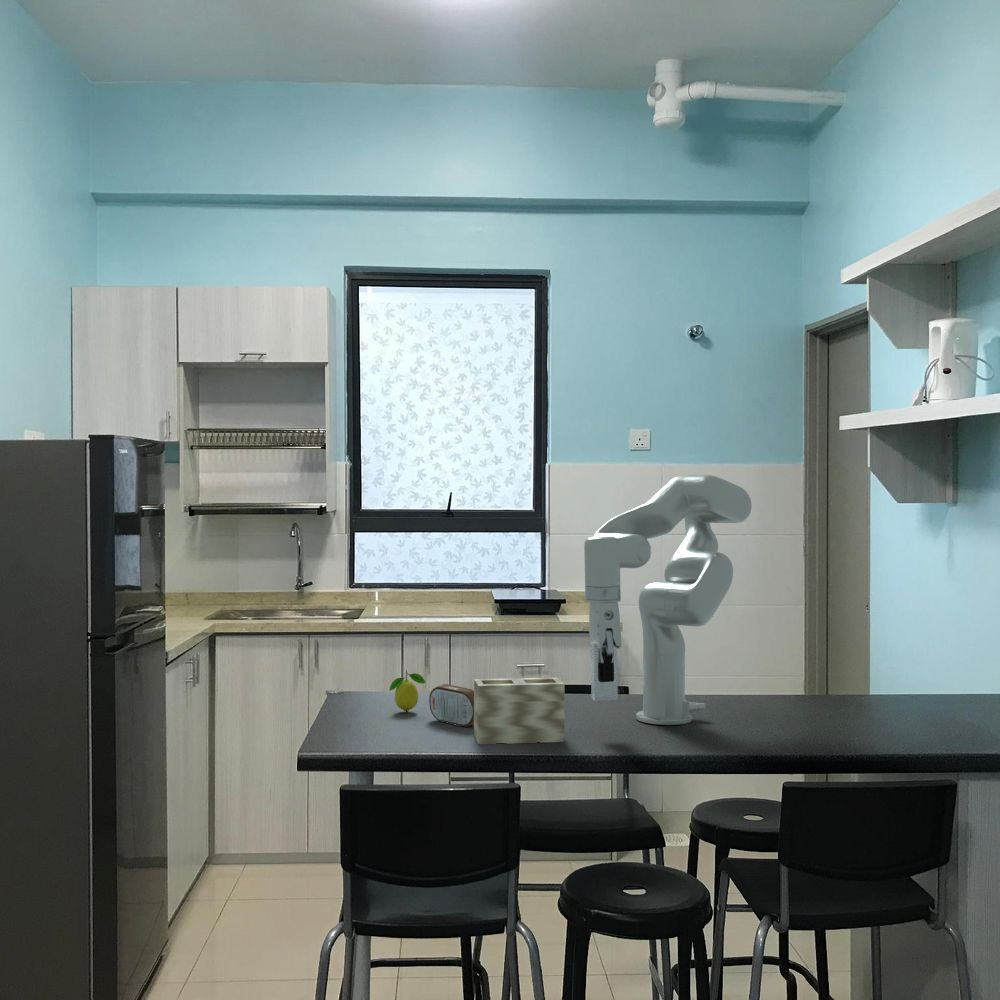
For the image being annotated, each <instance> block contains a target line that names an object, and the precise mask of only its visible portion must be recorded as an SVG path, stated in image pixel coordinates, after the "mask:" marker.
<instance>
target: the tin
mask: <svg viewBox="0 0 1000 1000" xmlns="http://www.w3.org/2000/svg"><path fill="white" fill-rule="evenodd" d="M428 697H429V699H428V702H429V710H430V712H431V714H432V715H433V716H432V717H433V718H434V719H435V720H437V721H438V720H439V721H438V722H440V721H443V722H442V723H444V722H448V723H451V724H450V725H453V724H456V725H455V726H457V725H460V726H459V727H461V726H464V727H463V728H469V727H472V725H473V726H474V689H471V688H468V687H462V686H457V685H452V684H448V683H443V684H441V685H438V686H435V687H434V688H432V690H431V691H430V693H429V696H428ZM448 723H447V724H448Z"/></svg>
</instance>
